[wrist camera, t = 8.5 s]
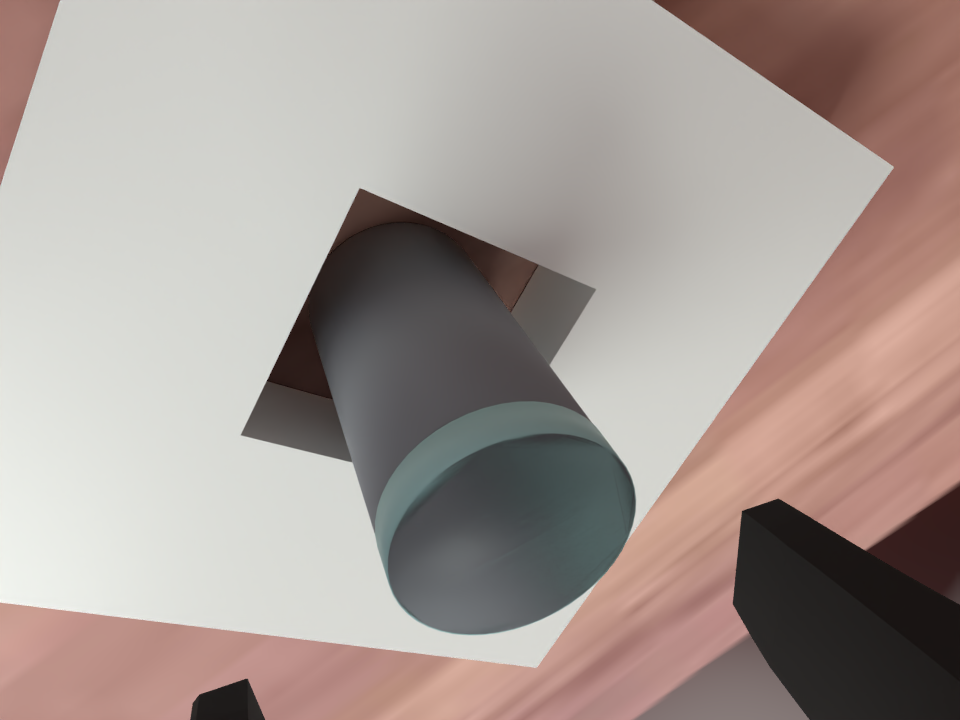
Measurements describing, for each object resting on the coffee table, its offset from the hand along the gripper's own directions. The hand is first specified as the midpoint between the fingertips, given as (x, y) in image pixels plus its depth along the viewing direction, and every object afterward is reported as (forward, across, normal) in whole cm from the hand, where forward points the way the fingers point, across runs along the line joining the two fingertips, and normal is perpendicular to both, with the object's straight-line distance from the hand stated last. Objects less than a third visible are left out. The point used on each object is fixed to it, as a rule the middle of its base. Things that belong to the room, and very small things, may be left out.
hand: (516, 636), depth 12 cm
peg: (+9, -1, 0) cm, 9 cm away
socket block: (+9, 0, 0) cm, 9 cm away
